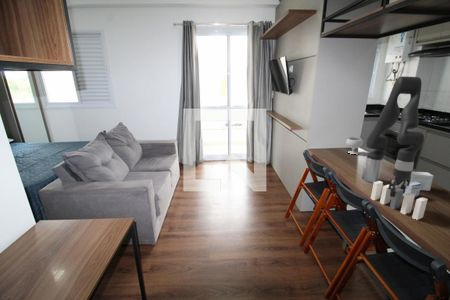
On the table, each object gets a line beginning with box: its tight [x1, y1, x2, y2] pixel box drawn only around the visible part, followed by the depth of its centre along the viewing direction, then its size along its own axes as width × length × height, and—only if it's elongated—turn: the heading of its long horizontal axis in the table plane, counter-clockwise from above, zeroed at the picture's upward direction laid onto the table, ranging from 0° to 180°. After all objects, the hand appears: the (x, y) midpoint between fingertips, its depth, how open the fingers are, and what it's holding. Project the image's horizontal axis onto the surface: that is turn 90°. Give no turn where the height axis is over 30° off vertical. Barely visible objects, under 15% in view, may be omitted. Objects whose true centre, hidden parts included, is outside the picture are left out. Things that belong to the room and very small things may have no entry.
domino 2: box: [379, 183, 392, 206], centre depth 126 cm, size 2×5×11 cm, turn 113°
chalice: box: [345, 136, 364, 156], centre depth 213 cm, size 14×14×15 cm
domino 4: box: [399, 192, 416, 215], centre depth 117 cm, size 2×5×11 cm, turn 113°
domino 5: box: [411, 196, 428, 221], centre depth 112 cm, size 2×5×11 cm, turn 113°
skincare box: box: [407, 171, 434, 191], centre depth 142 cm, size 10×6×10 cm, turn 73°
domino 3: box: [389, 187, 404, 210], centre depth 121 cm, size 2×5×11 cm, turn 113°
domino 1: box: [370, 180, 384, 201], centre depth 131 cm, size 2×5×11 cm, turn 113°
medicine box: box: [402, 181, 421, 198], centre depth 133 cm, size 8×4×9 cm, turn 106°
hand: (397, 194), depth 121 cm, fingers open, 8 cm apart
